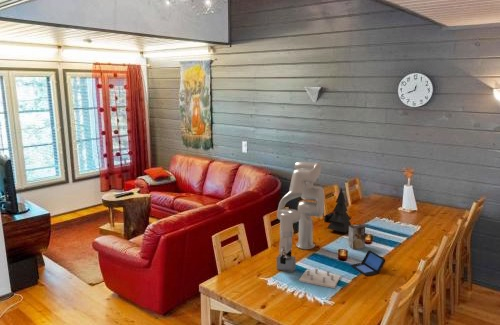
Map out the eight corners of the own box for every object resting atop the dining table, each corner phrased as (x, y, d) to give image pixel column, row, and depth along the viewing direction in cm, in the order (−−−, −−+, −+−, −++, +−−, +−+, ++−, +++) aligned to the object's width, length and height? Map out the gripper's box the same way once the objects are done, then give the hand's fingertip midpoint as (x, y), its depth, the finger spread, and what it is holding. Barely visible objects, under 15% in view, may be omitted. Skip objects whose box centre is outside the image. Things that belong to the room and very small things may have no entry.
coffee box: (359, 246, 272) (360, 223, 269) (364, 249, 266) (365, 226, 263) (347, 247, 270) (348, 225, 267) (352, 251, 264) (353, 228, 261)
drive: (279, 266, 241) (279, 253, 240) (295, 269, 237) (295, 256, 236) (276, 269, 237) (276, 256, 236) (292, 272, 233) (292, 259, 231)
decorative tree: (345, 237, 287) (347, 191, 281) (326, 233, 296) (327, 188, 289) (352, 232, 299) (354, 187, 293) (334, 228, 307) (336, 184, 301)
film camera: (339, 220, 326) (340, 210, 325) (342, 224, 317) (343, 213, 315) (321, 220, 326) (321, 210, 324) (324, 224, 316) (324, 214, 315)
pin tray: (306, 271, 235) (306, 265, 234) (340, 277, 226) (340, 271, 225) (299, 281, 222) (299, 275, 222) (334, 288, 214) (334, 282, 213)
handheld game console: (350, 267, 240) (350, 252, 239) (368, 263, 245) (368, 249, 243) (366, 278, 226) (367, 263, 224) (385, 274, 231) (386, 259, 229)
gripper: (285, 228, 242) (285, 254, 245) (274, 236, 227) (274, 264, 229) (297, 229, 239) (296, 256, 242) (287, 238, 224) (286, 267, 226)
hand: (285, 260), depth 236 cm, fingers open, 9 cm apart
